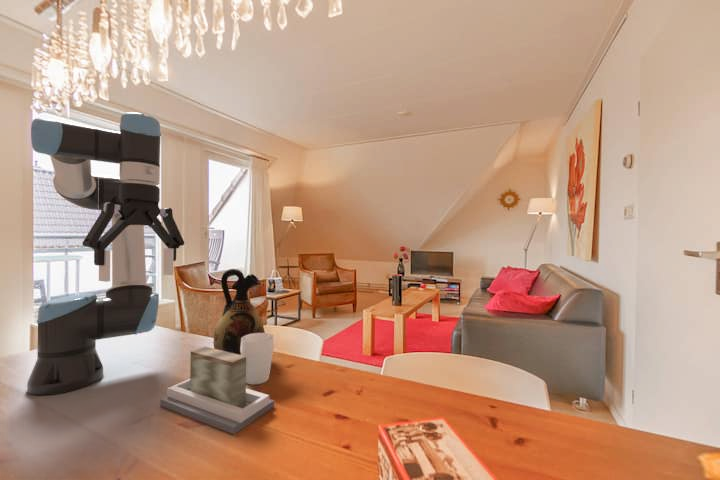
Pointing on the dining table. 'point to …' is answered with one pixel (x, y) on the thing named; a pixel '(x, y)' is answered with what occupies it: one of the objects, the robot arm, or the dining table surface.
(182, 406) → the track base
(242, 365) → the beige textured block
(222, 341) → the ceramic jug
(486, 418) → the dining table surface
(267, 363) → the cup
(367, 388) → the dining table surface
